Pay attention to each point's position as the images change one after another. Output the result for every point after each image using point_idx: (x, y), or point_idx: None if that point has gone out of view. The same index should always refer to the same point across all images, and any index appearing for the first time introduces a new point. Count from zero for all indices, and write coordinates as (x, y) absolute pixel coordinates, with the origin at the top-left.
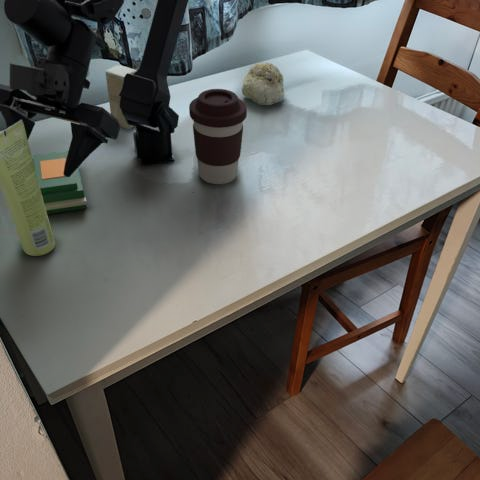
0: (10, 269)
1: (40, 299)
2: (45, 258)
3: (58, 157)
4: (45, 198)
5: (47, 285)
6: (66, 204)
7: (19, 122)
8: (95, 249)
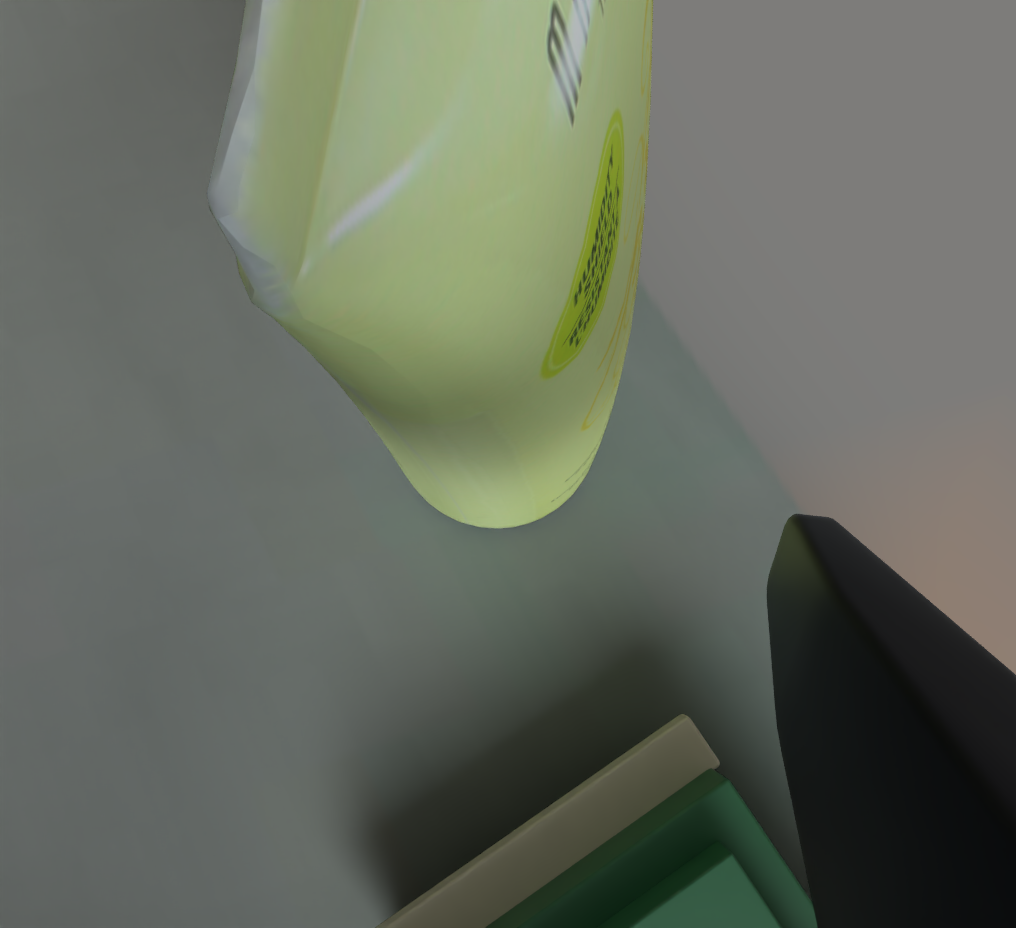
0: None
1: None
2: None
3: None
4: (650, 826)
5: None
6: (485, 855)
7: (262, 24)
8: (143, 523)
